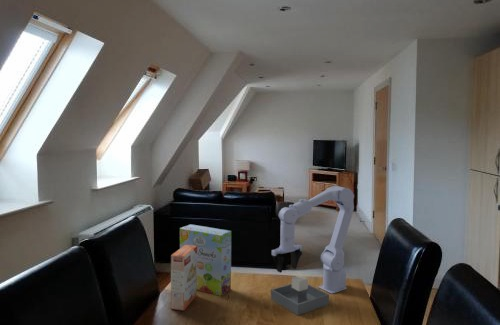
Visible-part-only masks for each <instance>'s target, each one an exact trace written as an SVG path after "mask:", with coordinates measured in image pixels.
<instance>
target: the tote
mask: <svg viewBox="0 0 500 325" xmlns="http://www.w3.org/2000/svg"><path fill="white" fill-rule="evenodd" d="M291 287H292V283H289V284H285V285H282V286H279V287H275V288H272V289H270V300H272V301H273V302H274V303H277V304H278V305H279V306H281V307H283V308H284V309H286V310H288V311H290V313H293V314H295V315H297V316H300V315H303V314H307V313H308V312H309V313H310V312H312V311H314V310H318V309H320V308H323V307H326V306H329V305H330V293H328V292H326V291H324V290H322V289H320V288H319V289H318V288H316V287H315V286H312V285H310V284H308V289H307V301H304V302H301V303H296V302H294V301H293V300H291V299H290V294H291ZM317 308H318V309H317Z"/></svg>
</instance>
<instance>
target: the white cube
mask: <svg viewBox="0 0 500 325" xmlns="http://www.w3.org/2000/svg"><path fill="white" fill-rule="evenodd" d="M291 284H292V288H294V289H296V290H298V291H302V290H305V289H308V285H309V278H307V277H305V276H303V275H301V274H299V275H295V276H292V277H291Z"/></svg>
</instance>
